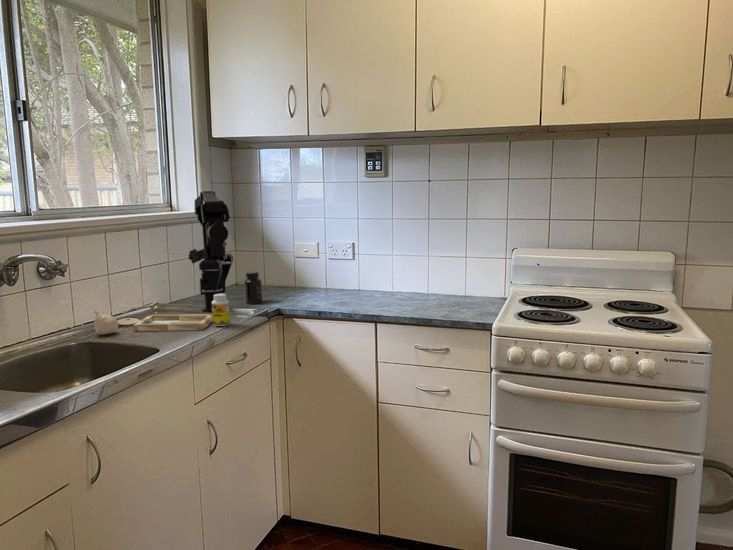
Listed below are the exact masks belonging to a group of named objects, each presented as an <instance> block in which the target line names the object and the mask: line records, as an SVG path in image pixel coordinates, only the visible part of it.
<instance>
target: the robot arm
mask: <svg viewBox="0 0 733 550" xmlns="http://www.w3.org/2000/svg"><path fill="white" fill-rule="evenodd" d="M224 201H225V200H222V199H219V198H218V197H217V196H216V191H213V190H202V191H200V192H199V196H198V197H196V198H195V199H194V205H193V206H194V215H195V216H196V219H197V221H198V223H199V224H200V225H201V229H202V245H203V248H202V249H200V250H197V249H196V248H194V249H191V250H189V253H188V260H190V262H191V264H196V263H197V262H199V264H198V266H199V267H198V270H199V271H201V273H200V277H201V278H199V294H200V296H202V295H203V298H204V307H203V308H202V309H201V311H202V312H212V301H213V300H214V295H215V294H225V293H226V281H227V279H228V277H229V273H230V270H231V268H232V266H233V262H234V255H233V254H231V253H227V252H226V251H227V250H226V249H227V248H226V247H227V245H228V244H227V243H228V242H227V241H226V240H227V239H228V237H229V230H228V228H227V227H226V226H225V224H224V223H228V222H229V220H230V211H229V207H228V205H227V203H225V202H224Z"/></svg>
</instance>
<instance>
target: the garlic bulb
mask: <svg viewBox="0 0 733 550" xmlns="http://www.w3.org/2000/svg"><path fill="white" fill-rule="evenodd" d="M93 313H94V314H95V317H94V320H93V323H94V324H93V326H94V330H95V332H96V333H97V334H99V335H102V336H106V335H110V334H114V333H115V332H116V331H117V330H118V329H119V322H118V320H117V318H115V317H114V316H113V315H110V314H105V313H103V314H102V313H99V312H98V311H96V310H94V311H93Z"/></svg>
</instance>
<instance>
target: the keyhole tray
mask: <svg viewBox="0 0 733 550" xmlns="http://www.w3.org/2000/svg"><path fill="white" fill-rule="evenodd" d="M211 323H213V319H212V313H192V314H191V313H189V314H187V313H183V314H181V313H180V314H178V313H177V314H149V315H148V316H146V317H144V318H143V319H141V320H139V321H137V322H136V323H135V324H133V325H132V327H133V328H132V329H133V332H157V331H158V332H163V331H164V332H165V331H167V332H169V331H170V332H171V331H172V332H174V331H203V330H204V329H206V328H207V327H208V326H209V325H210V324H211Z"/></svg>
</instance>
